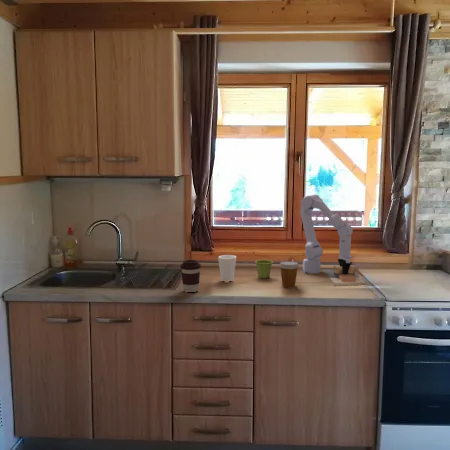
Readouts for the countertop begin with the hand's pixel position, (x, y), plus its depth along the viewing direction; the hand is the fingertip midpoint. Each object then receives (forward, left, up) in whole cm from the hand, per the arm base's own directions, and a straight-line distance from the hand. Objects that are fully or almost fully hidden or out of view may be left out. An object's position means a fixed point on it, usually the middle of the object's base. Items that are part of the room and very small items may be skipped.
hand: (344, 273), depth 249 cm
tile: (0, -6, -2) cm, 6 cm away
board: (0, +3, -3) cm, 4 cm away
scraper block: (0, 0, -1) cm, 1 cm away
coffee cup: (-80, -19, -4) cm, 82 cm away
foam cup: (-62, 0, -4) cm, 62 cm away
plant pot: (-42, +7, -4) cm, 43 cm away
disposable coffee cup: (-31, -11, -4) cm, 33 cm away
